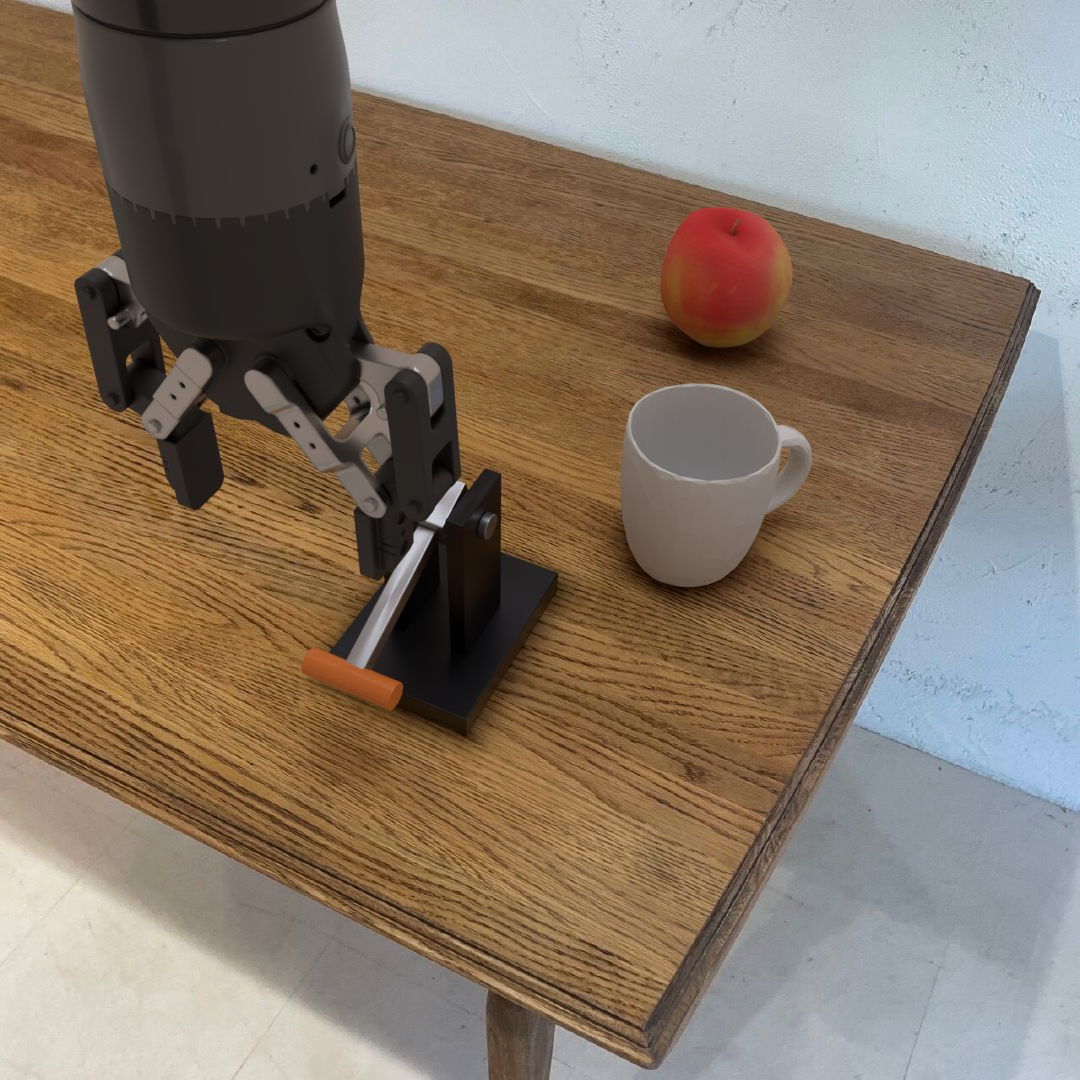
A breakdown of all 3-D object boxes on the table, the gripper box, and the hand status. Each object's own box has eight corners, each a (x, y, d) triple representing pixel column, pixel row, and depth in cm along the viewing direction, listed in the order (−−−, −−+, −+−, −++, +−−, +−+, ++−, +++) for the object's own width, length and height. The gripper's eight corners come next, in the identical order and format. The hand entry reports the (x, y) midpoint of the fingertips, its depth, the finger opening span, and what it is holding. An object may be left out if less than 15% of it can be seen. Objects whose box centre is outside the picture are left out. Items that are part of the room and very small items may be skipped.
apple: (696, 386, 84) (715, 268, 77) (630, 318, 90) (642, 203, 83) (802, 353, 87) (829, 237, 80) (732, 290, 93) (751, 176, 86)
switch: (395, 716, 56) (383, 702, 54) (309, 680, 58) (294, 665, 56) (497, 512, 61) (490, 491, 58) (415, 482, 62) (405, 461, 60)
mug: (655, 622, 68) (675, 500, 61) (588, 525, 73) (598, 403, 66) (831, 561, 72) (869, 440, 65) (754, 473, 78) (781, 353, 70)
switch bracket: (466, 736, 62) (462, 590, 53) (325, 677, 64) (299, 529, 56) (558, 589, 70) (567, 441, 61) (428, 541, 72) (420, 393, 64)
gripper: (-46, 142, 34) (86, 531, 45) (369, 265, 30) (398, 657, 41) (121, 53, 39) (202, 425, 50) (497, 149, 35) (491, 528, 46)
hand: (291, 529), depth 46 cm, fingers open, 8 cm apart
